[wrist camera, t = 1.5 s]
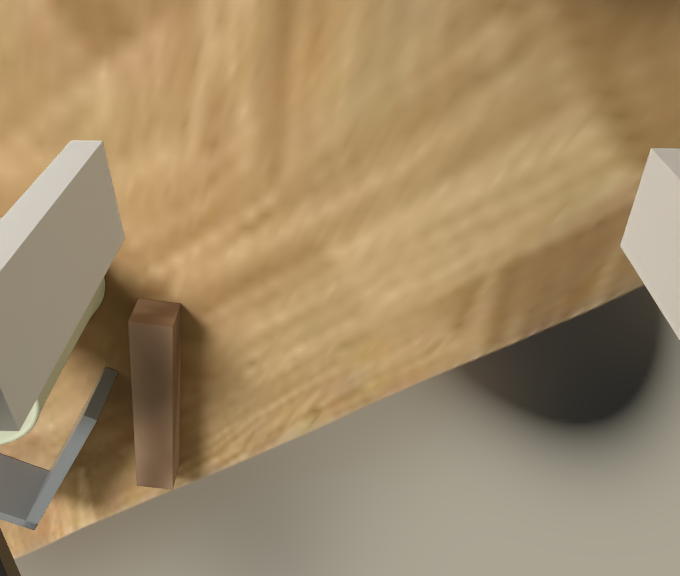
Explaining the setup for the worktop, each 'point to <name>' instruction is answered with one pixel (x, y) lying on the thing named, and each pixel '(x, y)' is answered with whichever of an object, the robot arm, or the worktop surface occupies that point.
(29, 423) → the can
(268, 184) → the worktop surface
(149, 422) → the bar
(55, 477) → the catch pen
